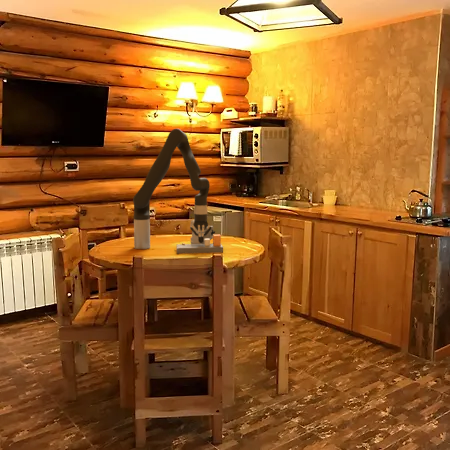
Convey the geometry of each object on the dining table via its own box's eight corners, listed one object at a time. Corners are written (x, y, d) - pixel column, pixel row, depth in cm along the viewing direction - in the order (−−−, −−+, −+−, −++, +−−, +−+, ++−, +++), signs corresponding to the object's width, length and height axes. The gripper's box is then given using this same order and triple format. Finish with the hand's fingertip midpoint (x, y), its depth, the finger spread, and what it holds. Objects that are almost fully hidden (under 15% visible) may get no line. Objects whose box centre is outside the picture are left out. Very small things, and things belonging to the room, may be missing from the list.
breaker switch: (204, 245, 293) (204, 239, 292) (204, 244, 297) (204, 238, 296) (210, 245, 293) (210, 239, 293) (209, 244, 297) (209, 238, 297)
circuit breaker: (213, 246, 310) (213, 221, 308) (190, 245, 313) (190, 220, 311) (216, 243, 317) (215, 220, 315) (193, 243, 320) (193, 219, 318)
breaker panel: (177, 253, 287) (177, 246, 287) (176, 249, 299) (176, 243, 298) (223, 252, 291) (223, 245, 290) (220, 248, 302) (220, 242, 302)
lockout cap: (213, 245, 293) (213, 235, 293) (212, 244, 297) (213, 234, 296) (220, 245, 294) (220, 235, 293) (219, 244, 298) (219, 234, 297)
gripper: (189, 213, 287) (189, 244, 290) (212, 213, 289) (213, 243, 291) (188, 212, 295) (189, 241, 297) (211, 212, 296) (211, 241, 299)
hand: (200, 242), depth 294 cm, fingers closed
